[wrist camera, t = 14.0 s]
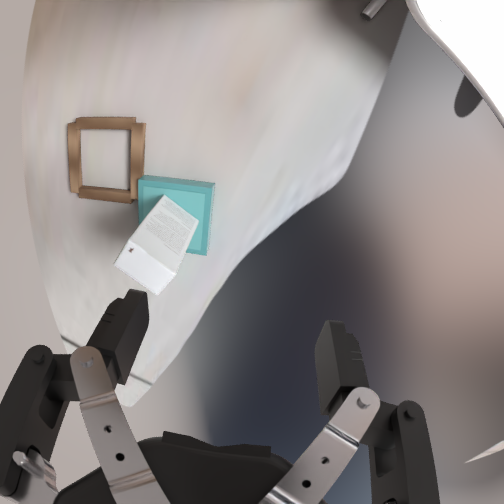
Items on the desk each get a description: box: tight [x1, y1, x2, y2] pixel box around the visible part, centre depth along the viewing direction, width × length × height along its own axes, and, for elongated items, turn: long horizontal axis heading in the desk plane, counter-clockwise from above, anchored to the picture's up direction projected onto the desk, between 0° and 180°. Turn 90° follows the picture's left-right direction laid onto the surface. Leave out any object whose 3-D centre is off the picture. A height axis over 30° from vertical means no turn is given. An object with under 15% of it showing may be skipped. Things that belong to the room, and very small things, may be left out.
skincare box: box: [114, 195, 199, 295], centre depth 34 cm, size 6×4×12 cm
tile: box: [138, 175, 215, 256], centre depth 41 cm, size 10×10×2 cm
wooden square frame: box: [68, 117, 146, 204], centre depth 37 cm, size 12×12×1 cm
